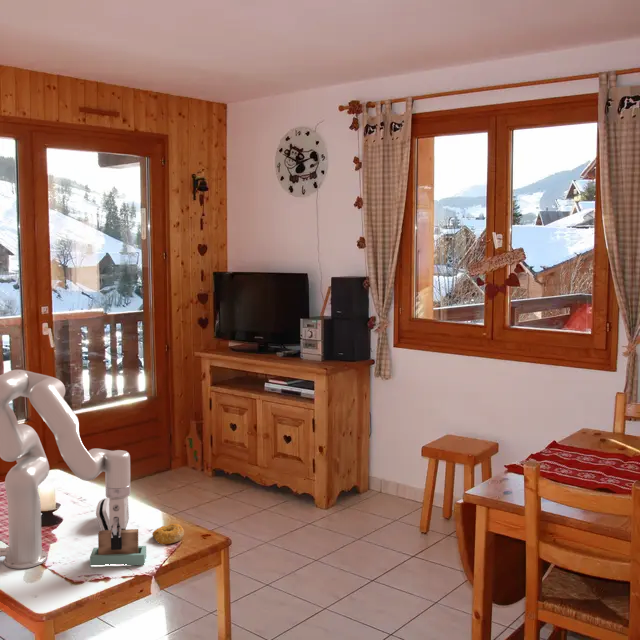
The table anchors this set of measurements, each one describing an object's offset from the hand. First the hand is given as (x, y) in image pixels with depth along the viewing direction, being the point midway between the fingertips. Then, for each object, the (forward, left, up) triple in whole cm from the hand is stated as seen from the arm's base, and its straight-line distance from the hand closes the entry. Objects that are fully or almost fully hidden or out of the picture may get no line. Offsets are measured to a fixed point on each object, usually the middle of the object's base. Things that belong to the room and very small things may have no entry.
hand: (118, 542), depth 235 cm
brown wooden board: (0, 0, -5) cm, 5 cm away
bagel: (+14, +17, -7) cm, 23 cm away
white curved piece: (-7, +33, -7) cm, 34 cm away
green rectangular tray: (0, 0, -6) cm, 6 cm away
